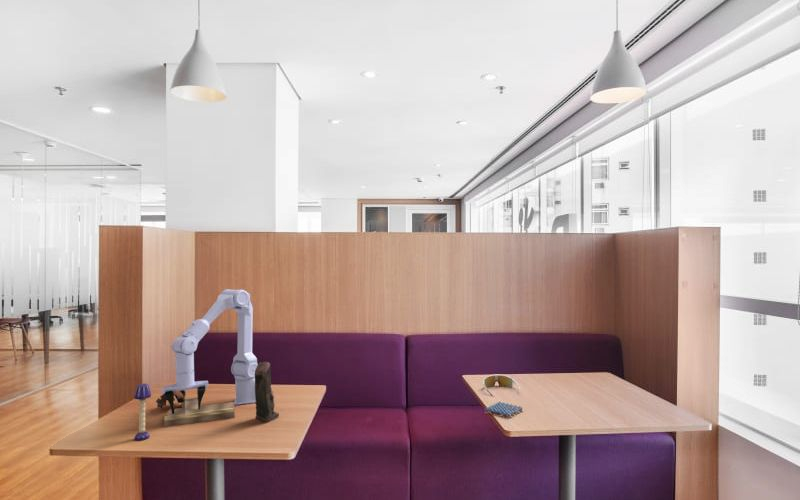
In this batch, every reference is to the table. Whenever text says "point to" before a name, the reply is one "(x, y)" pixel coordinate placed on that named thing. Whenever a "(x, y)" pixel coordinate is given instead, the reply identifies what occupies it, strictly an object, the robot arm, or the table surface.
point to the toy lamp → (142, 410)
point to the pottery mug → (179, 396)
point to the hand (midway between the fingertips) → (185, 410)
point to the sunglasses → (501, 380)
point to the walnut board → (201, 414)
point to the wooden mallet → (191, 405)
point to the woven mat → (503, 410)
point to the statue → (264, 393)
